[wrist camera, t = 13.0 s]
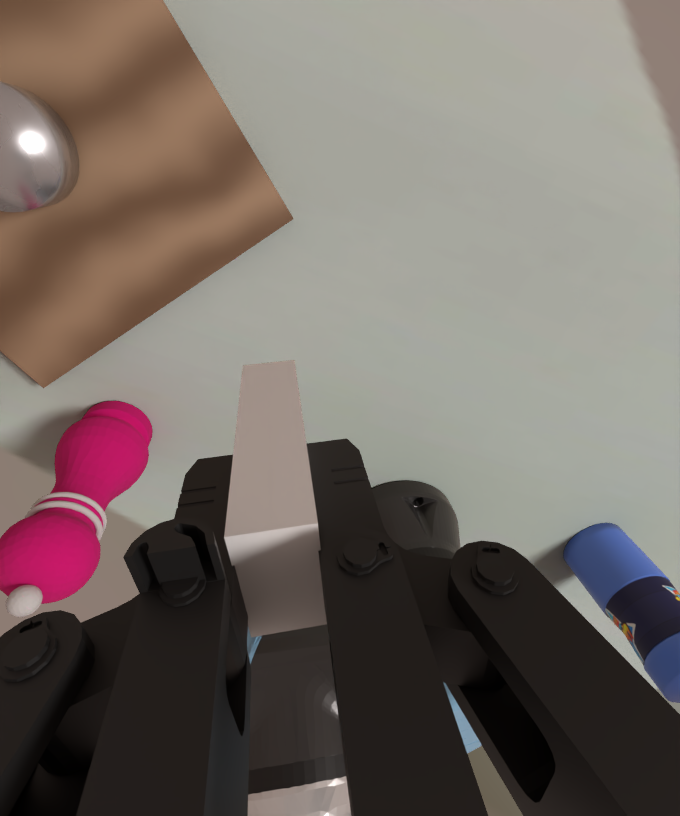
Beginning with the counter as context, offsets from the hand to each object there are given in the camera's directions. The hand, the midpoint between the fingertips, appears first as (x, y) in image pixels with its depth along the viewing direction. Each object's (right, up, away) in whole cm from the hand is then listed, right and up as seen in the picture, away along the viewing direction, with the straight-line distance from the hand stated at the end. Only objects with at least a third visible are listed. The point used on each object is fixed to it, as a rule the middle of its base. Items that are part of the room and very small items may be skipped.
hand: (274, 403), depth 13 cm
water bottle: (+39, -20, +50) cm, 67 cm away
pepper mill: (-20, -2, +29) cm, 35 cm away
